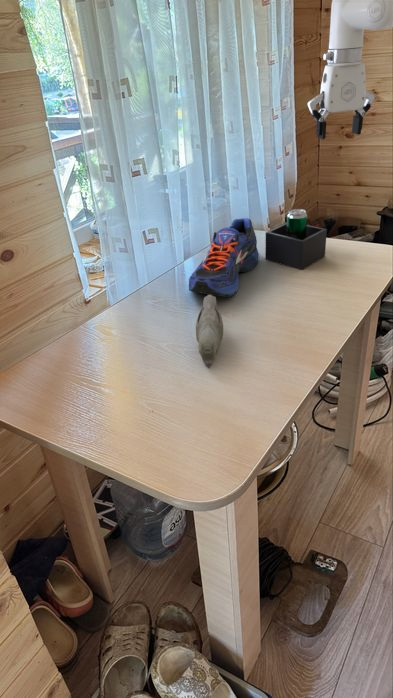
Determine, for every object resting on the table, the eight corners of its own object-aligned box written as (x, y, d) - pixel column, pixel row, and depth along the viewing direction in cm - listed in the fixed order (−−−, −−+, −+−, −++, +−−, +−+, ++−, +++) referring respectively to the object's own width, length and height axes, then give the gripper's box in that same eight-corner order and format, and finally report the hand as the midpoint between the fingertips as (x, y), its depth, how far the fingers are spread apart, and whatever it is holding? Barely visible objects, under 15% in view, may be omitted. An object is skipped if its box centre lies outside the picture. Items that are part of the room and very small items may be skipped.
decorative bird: (194, 369, 96) (191, 335, 92) (198, 326, 109) (196, 294, 105) (223, 368, 95) (221, 334, 91) (224, 325, 109) (223, 294, 105)
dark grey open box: (325, 256, 136) (327, 229, 132) (301, 270, 130) (303, 241, 126) (288, 247, 143) (289, 220, 139) (265, 259, 137) (265, 232, 133)
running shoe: (176, 306, 118) (171, 254, 111) (220, 253, 143) (218, 208, 136) (227, 312, 114) (225, 259, 107) (263, 256, 139) (263, 210, 132)
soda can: (281, 256, 137) (282, 211, 130) (295, 250, 139) (297, 207, 133) (295, 261, 133) (297, 216, 127) (309, 256, 136) (311, 211, 129)
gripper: (318, 61, 114) (313, 142, 123) (387, 54, 118) (378, 134, 127) (303, 60, 120) (300, 137, 130) (369, 53, 124) (361, 129, 133)
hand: (338, 135), depth 128 cm, fingers open, 9 cm apart
